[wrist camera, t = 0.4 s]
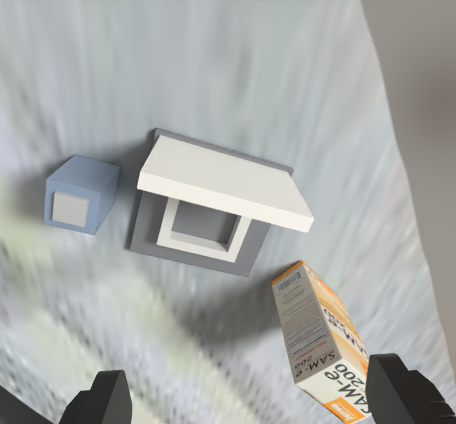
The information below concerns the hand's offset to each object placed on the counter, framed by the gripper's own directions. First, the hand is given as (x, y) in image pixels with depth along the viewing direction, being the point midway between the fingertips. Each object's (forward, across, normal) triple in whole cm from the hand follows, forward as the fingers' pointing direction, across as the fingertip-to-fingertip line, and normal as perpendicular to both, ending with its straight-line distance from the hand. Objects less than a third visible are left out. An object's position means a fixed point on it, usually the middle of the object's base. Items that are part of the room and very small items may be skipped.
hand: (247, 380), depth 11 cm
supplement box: (+24, -8, +14) cm, 29 cm away
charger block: (+22, +12, -1) cm, 26 cm away
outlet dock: (+23, +2, +2) cm, 23 cm away
